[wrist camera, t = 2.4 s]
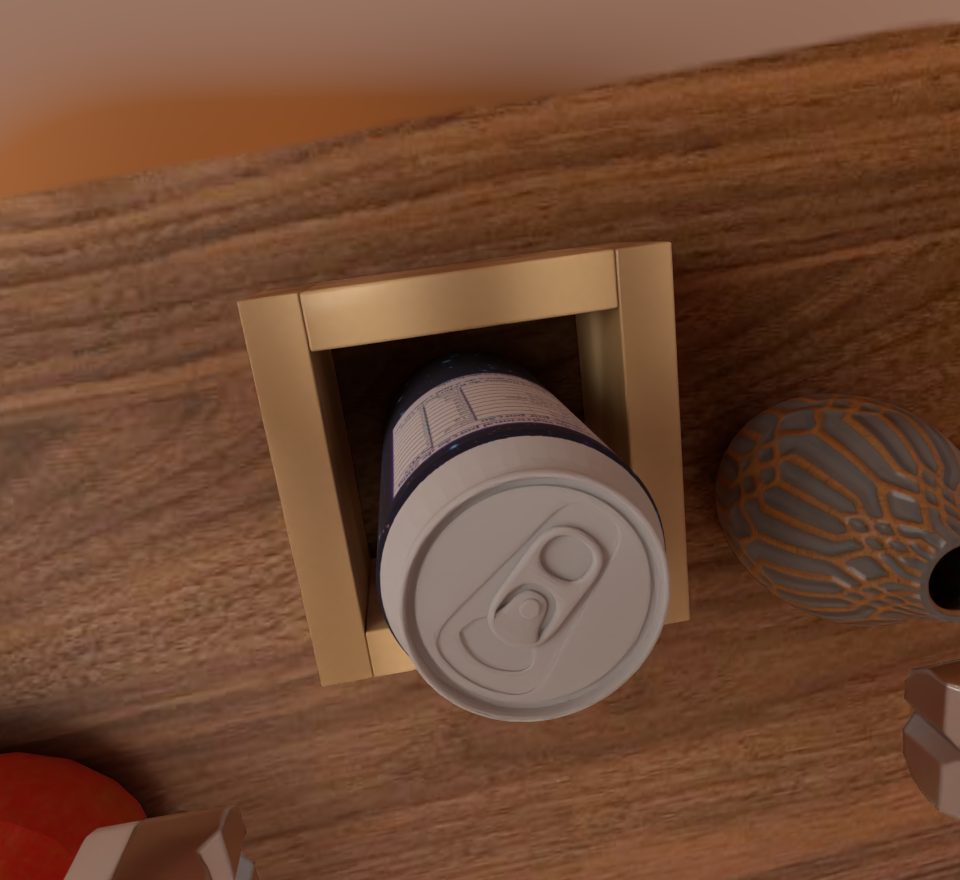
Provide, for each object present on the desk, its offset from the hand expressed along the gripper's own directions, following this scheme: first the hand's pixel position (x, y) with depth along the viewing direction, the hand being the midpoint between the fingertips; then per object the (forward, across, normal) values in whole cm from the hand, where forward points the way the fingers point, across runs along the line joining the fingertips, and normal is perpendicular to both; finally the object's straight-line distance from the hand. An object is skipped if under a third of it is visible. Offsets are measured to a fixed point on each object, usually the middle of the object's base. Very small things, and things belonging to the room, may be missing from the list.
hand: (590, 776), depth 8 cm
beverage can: (+16, 0, 0) cm, 16 cm away
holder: (+16, 0, 0) cm, 16 cm away
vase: (+16, -11, +3) cm, 20 cm away
